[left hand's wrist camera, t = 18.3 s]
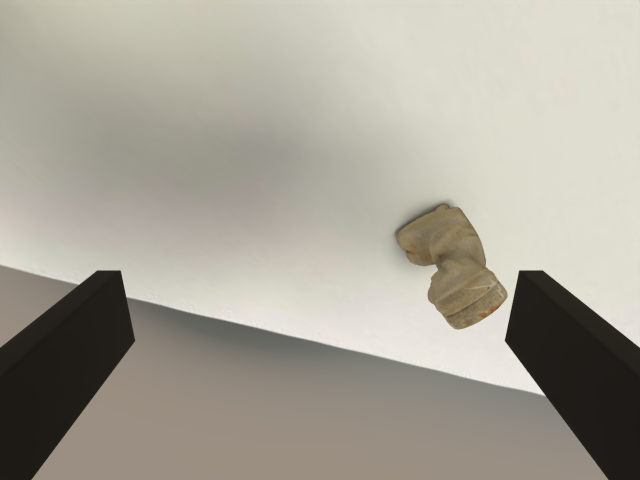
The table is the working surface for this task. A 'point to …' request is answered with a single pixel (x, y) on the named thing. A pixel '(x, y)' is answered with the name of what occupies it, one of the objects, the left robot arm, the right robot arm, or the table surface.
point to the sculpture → (453, 266)
